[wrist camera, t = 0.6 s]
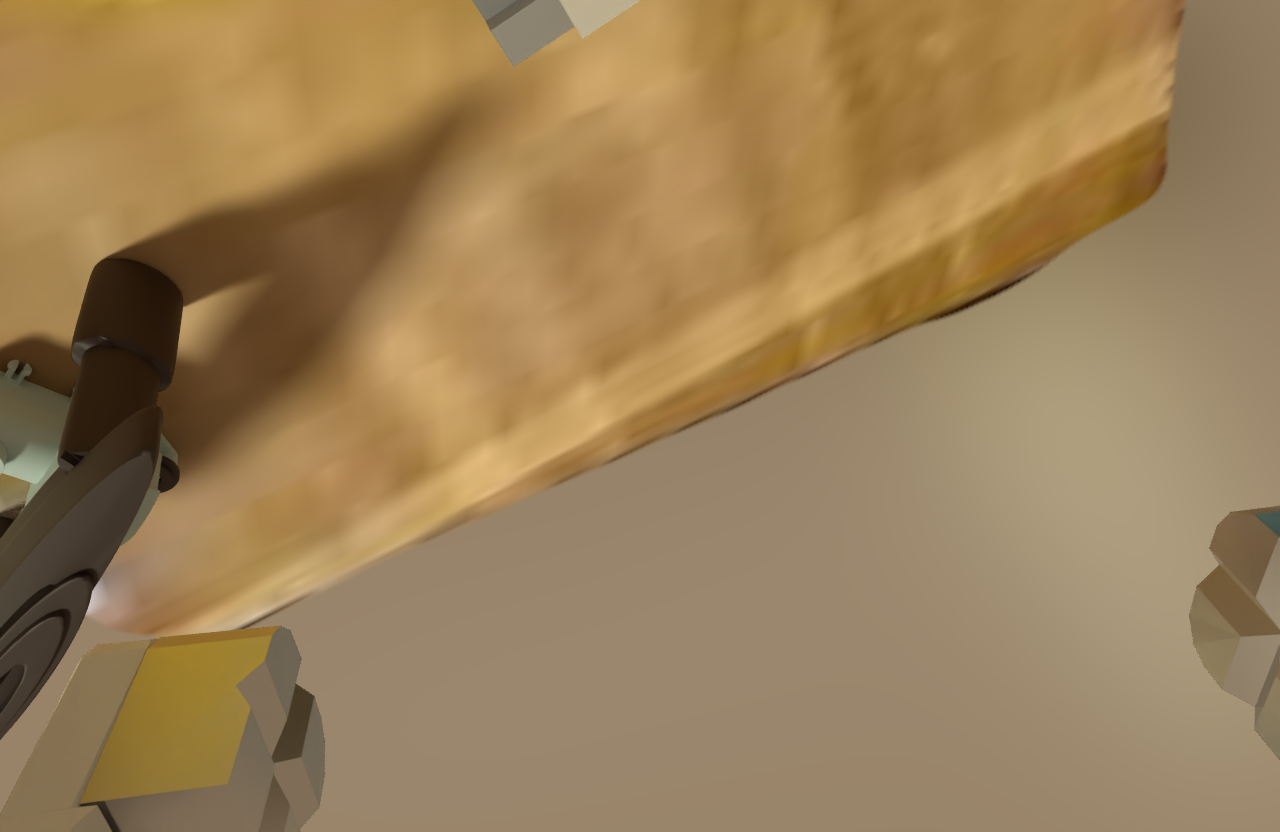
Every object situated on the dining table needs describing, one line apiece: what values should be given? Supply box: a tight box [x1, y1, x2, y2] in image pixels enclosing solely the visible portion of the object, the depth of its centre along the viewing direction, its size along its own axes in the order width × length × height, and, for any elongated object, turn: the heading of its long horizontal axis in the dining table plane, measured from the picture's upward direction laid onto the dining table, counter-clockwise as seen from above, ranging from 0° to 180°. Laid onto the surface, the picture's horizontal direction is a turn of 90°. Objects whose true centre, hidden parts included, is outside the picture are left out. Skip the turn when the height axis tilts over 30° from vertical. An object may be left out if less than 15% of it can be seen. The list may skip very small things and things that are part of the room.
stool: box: [0, 259, 183, 740], centre depth 54 cm, size 16×21×33 cm
